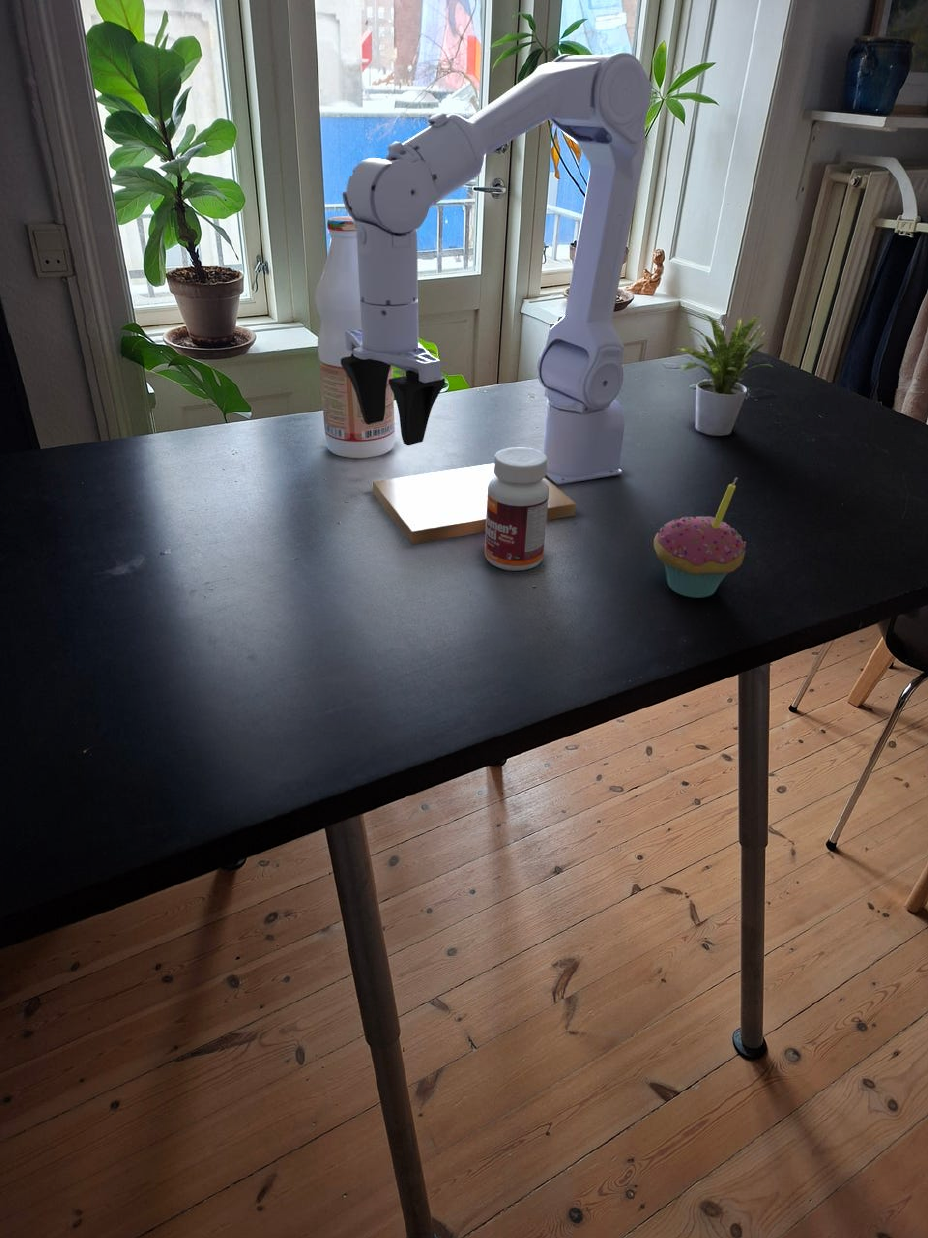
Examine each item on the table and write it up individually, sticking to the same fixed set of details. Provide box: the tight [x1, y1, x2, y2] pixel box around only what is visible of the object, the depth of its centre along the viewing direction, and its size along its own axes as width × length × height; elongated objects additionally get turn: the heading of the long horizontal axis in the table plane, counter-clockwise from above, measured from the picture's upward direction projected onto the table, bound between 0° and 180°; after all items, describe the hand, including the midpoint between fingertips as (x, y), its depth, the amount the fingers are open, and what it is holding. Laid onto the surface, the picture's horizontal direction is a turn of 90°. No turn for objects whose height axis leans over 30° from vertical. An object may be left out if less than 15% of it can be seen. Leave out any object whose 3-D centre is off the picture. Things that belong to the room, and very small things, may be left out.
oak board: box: [372, 462, 577, 546], centre depth 94 cm, size 20×14×2 cm
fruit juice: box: [314, 215, 396, 459], centre depth 102 cm, size 9×9×28 cm
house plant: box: [674, 312, 775, 436], centre depth 114 cm, size 14×14×16 cm
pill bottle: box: [484, 446, 549, 572], centre depth 81 cm, size 6×6×11 cm
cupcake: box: [653, 477, 747, 599], centre depth 77 cm, size 9×8×12 cm
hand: (393, 431), depth 87 cm, fingers open, 7 cm apart
